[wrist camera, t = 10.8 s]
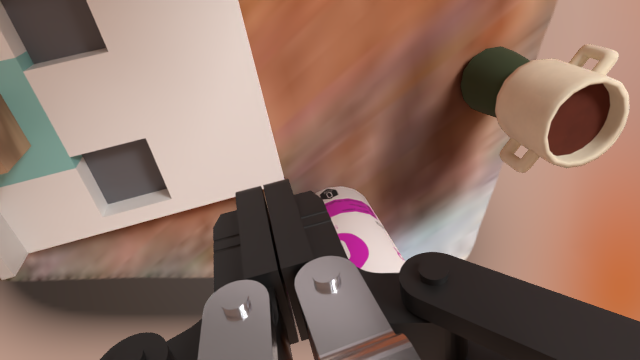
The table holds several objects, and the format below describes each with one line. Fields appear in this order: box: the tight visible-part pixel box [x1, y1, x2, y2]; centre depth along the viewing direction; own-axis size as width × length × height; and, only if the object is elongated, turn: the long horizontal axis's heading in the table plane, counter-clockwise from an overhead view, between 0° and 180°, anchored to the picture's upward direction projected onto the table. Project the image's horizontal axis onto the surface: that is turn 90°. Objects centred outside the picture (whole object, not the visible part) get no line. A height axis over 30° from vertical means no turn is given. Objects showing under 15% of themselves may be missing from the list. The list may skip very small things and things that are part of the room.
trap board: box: [0, 0, 284, 280], centre depth 32 cm, size 22×24×6 cm
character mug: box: [461, 44, 630, 173], centre depth 36 cm, size 11×7×13 cm, turn 149°
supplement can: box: [315, 186, 405, 273], centre depth 39 cm, size 8×8×15 cm
